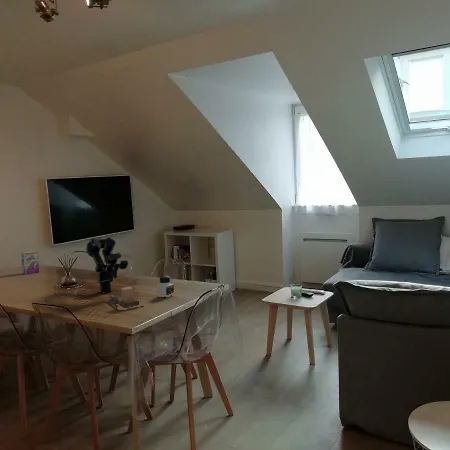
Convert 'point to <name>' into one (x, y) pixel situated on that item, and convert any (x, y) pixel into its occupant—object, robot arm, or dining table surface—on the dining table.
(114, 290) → the dining table surface
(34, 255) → the candy bar box
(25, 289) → the dining table surface
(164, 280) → the medicine bottle
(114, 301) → the walnut chute
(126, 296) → the terracotta block
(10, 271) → the dining table surface
